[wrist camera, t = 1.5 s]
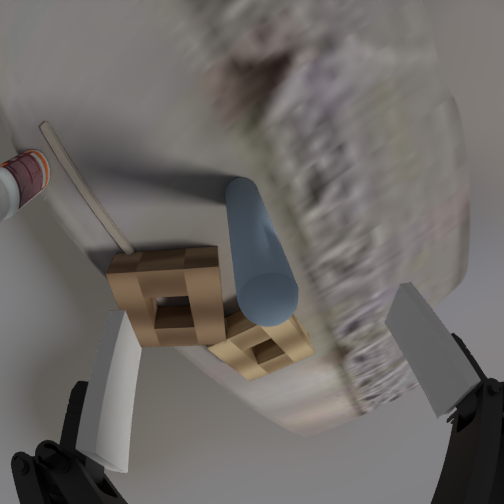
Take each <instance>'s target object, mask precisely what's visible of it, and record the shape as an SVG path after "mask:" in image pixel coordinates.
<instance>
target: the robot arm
mask: <svg viewBox="0 0 504 504" xmlns="http://www.w3.org/2000/svg"><path fill="white" fill-rule="evenodd" d="M385 324H386V325H387V327H388V328H389V330H390V332H391V333H392V335H393V337H394V339H395V340H396V342H397V344H398V345H399V347H400V349H401V351H402V352H403V354H404V356H405V358H406V359H407V361H408V363H409V365H410V366H411V368H412V370H413V372H414V374H415V376H416V377H417V379H418V381H419V383H420V385H421V387H422V388H423V391H424V392H425V394H426V396H427V398H428V400H429V402H430V404H431V406H432V408H433V410H434V412H435V414H436V416H437V418H438V419H439V418H441V417H442V416H444V415H446V414H448V413H449V412H450V411H452V410H453V409H454V408H455V407H456V408H457V410H456V411H455V412H454V413H453V414H452V415H451V416H450V417H449V418H448V419H447V423H448V422H449V421H451V420H452V419H453V418H454V419H453V420H452V422H451V424H453V426H452V431H451V436H450V441H449V445H448V450H447V454H446V457H445V461H444V465H443V468H442V472H441V475H440V478H439V481H438V484H437V487H436V490H435V493H434V496H433V499H432V501H431V504H504V382H498V381H497V380H496V379H494V378H489V379H488V378H487V377H486V376H485V374H484V373H483V371H482V370H481V368H480V367H479V365H478V363H477V362H476V360H475V359H474V357H473V356H472V355H471V353H470V351H469V350H468V349H467V348H466V345H465V344H464V343H463V341H462V340H461V339H460V338H459V337H458V336H457V335H455V334H454V333H452V334H450V333H449V331H448V330H447V328H446V327H445V326H444V324H443V323H442V322H441V320H440V319H439V318H438V316H437V315H436V313H435V312H434V311H433V310H432V308H431V307H430V306H429V304H428V303H427V302H426V300H425V299H424V298H423V297H422V295H421V294H420V293H419V292H418V290H417V289H416V288H415V287H414V285H413V284H412V283H411V282H410V283H404V284H400V285H399V288H398V291H397V293H396V296H395V298H394V301H393V304H392V306H391V309H390V311H389V313H388V316H387V318H386V321H385ZM140 356H141V347H140V344H139V342H138V340H137V338H136V335H135V333H134V331H133V328H132V326H131V323H130V321H129V319H128V316H127V314H126V311H125V310H119V311H118V310H116V311H115V310H113V311H110V313H109V315H108V319H107V322H106V324H105V328H104V331H103V334H102V337H101V340H100V343H99V347H98V350H97V354H96V357H95V361H94V364H93V368H92V372H91V375H90V379H89V382H86V381H78V382H77V383H76V385H75V386H74V388H73V389H72V391H71V395H70V399H69V404H68V407H67V413H66V415H65V420H64V425H63V430H62V435H61V440H60V444H57V443H55V442H54V441H51V440H45V441H43V442H41V443H40V444H39V445H38V446H37V448H36V451H35V456H30V455H28V454H26V453H25V452H17V453H15V454H14V456H13V457H12V461H11V468H12V473H13V478H14V482H15V486H16V490H17V494H18V498H19V501H20V504H128V503H127V502H126V501H125V500H124V498H123V497H122V496H121V495H120V493H119V492H118V491H117V489H116V488H115V487H114V485H113V484H112V483H111V481H110V480H109V478H108V477H107V476H106V474H104V467H105V468H107V469H109V470H112V471H117V472H124V473H128V457H129V444H130V431H131V421H132V412H133V403H134V396H135V388H136V381H137V374H138V367H139V361H140Z"/></svg>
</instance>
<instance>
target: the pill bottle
mask: <svg viewBox="0 0 504 504" xmlns="http://www.w3.org/2000/svg"><path fill="white" fill-rule="evenodd" d="M49 179H50V167H49V164H48V161H47V159H46V157H45V156H44V155H43V154H42V153H41V152H40V151H38V150H33V149H31V150H27V151H25V152H23V153H21V154H19V155H17V156H16V157H14V158H11V159H10V160H8V161H6V162H4V163H2V164H1V165H0V222H1V221H2V220H3V219H8V218H11V217H12V216H14V215H15V214H16V213H17V212H18V211H19V210H20V209H21V208H23V207H24V206H25V205H26V204H27V203H28V202H30V201H31V200H32V199H33V198H34V197H36V196H37V195H38V194H40V193H41V192H42V191H43V190H44V189H45V188H46V186H47V185H48V182H49Z"/></svg>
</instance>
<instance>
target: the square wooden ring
mask: <svg viewBox="0 0 504 504" xmlns="http://www.w3.org/2000/svg"><path fill="white" fill-rule="evenodd" d="M106 276H107V279H108V282H109V285H110V287H111V290H112V293H113V295H114V298H115V300H116V302H117V305H118V307H119V310H125V311H126V314H127V316H128V319H129V321H130V323H131V326H132V328H133V331H134V333H135V335H136V338H137V340H138V342H139V344H140V347H166V346H194V345H212V344H219V343H220V342H222V341H225V340H226V334H225V321H224V310H223V300H222V290H221V279H220V268H219V256H218V246H213V247H199V248H185V249H172V250H159V251H145V252H134V253H133V254H131V255H126V253H120V254H115V255H114V257H113V259H112V261H111V264H110V266H109V268H108V270H107V272H106ZM174 296H188V297H189V302H190V305H189V306H170V307H158V306H157V302H156V299H155V297H174ZM225 342H226V341H225Z"/></svg>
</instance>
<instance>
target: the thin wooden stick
mask: <svg viewBox="0 0 504 504" xmlns="http://www.w3.org/2000/svg"><path fill="white" fill-rule="evenodd" d="M40 128H41V130H42V132H43V134H44V135H45V137H46V139H47V141H48V142H49V144H50V146H51V147H52V149H53V151H54V152H55V154H56V156H57V157H58V159H59V161H60V162H61V164H62V165H63V167H64V169H65V170H66V172H67V173H68V175H69V176H70V178H71V179H72V181H73V182H74V184H75V185H76V187H77V188H78V190H79V191H80V193H81V194H82V196H83V197H84V199H85V200H86V201H87V203H88V204H89V206H90V207H91V209H92V210H93V211H94V213H95V214H96V215H97V217H98V218H99V220H100V221H101V222H102V224H103V225H104V226H105V228H106V229H107V230H108V232H109V233H110V234H111V236H112V237H113V238H114V239H115V241H116V242H117V243H118V245H119V246H120V247H121V248H122V250H123V251H124V252H125V253H126V255H131V254H133V253H134V251H135V250H134V249H133V248H132V246H131V245H130V244H129V243H128V241H127V240H126V239H125V237H124V236H123V235H122V233H121V232H120V231H119V229H118V228H117V227H116V225H115V224H114V223H113V221H112V220H111V219H110V217H109V216H108V215H107V213H106V212H105V210H104V209H103V208H102V206H101V205H100V203H99V202H98V200H97V199H96V198H95V196H94V195H93V193H92V192H91V190H90V189H89V187H88V186H87V184H86V183H85V181H84V180H83V178H82V177H81V175H80V174H79V172H78V171H77V169H76V168H75V166H74V164H73V163H72V161H71V160H70V158H69V156H68V155H67V153H66V152H65V150H64V148H63V147H62V145H61V143H60V142H59V140H58V138H57V137H56V135H55V133H54V131H53V130H52V128H51V126H50V124H49V123H48V121H45V122H44V123H43V124H42V125H41V126H40Z"/></svg>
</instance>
